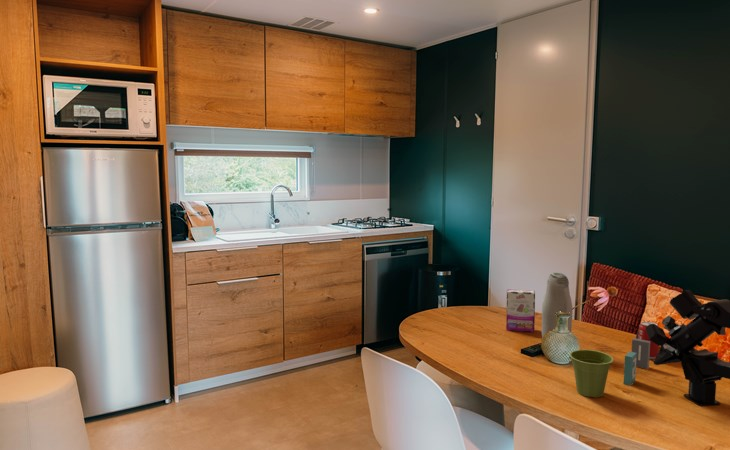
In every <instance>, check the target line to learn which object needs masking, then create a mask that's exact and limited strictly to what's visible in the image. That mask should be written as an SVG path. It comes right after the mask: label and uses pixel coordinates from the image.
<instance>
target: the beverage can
mask: <svg viewBox="0 0 730 450" xmlns="http://www.w3.org/2000/svg"><path fill="white" fill-rule="evenodd" d="M640 324H641V325H640ZM640 324H639V325H640V326H639V325H638V330H639V339H641V340H646V341H650V356H649V360H655V358H656V356H657V354H658V352H659V350H660V348H659V347H660V346H658V345H657V344H655V343H653V342H652V341H651V340H650V339H649V337H648V334H647V331H646V327H647V326H648V325H649V324H655V325H657V326H658V327H659V325H658V324H657V323H656V322H652V321H642V322H641V323H640Z"/></svg>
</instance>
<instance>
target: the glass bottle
mask: <svg viewBox="0 0 730 450" xmlns="http://www.w3.org/2000/svg"><path fill="white" fill-rule="evenodd" d="M569 282H570V281H569V278H568V277H567V276H566V275H565V274H564V273H562V272H552V273H550V274H549V275H548V276H547V279H546V288H545V293H544V296H543V300H542V304H541V337H542V339H543V336H544V335H545V334H546V333H548V332H549V331H552V330H553V329H555V327H556V315H555V312H557V311H561V312H570V317H569V318H568V330H569V331H570V332H571V333H572V326H573V325H572V324H573V301H572V298H571V295H570V283H569ZM571 309H572V310H571Z"/></svg>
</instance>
